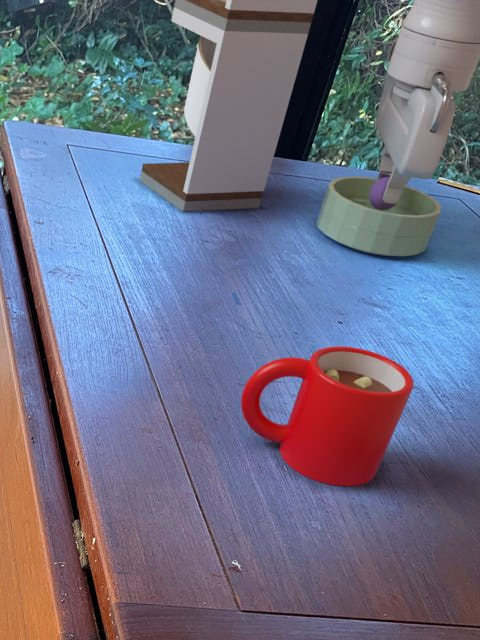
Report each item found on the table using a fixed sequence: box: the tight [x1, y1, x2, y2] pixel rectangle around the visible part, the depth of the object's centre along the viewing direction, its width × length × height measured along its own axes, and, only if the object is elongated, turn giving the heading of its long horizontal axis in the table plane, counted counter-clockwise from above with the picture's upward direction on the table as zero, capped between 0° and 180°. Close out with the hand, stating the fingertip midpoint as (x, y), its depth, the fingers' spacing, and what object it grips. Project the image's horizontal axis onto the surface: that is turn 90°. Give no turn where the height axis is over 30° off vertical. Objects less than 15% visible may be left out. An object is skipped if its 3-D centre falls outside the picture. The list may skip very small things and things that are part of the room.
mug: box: [240, 345, 414, 487], centre depth 78 cm, size 8×12×8 cm, turn 77°
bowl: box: [316, 175, 443, 257], centre depth 120 cm, size 13×13×5 cm
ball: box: [369, 177, 401, 210], centre depth 118 cm, size 4×4×4 cm
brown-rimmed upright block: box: [139, 0, 318, 212], centre depth 114 cm, size 11×11×35 cm
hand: (385, 194), depth 118 cm, fingers closed on ball, 3 cm apart
